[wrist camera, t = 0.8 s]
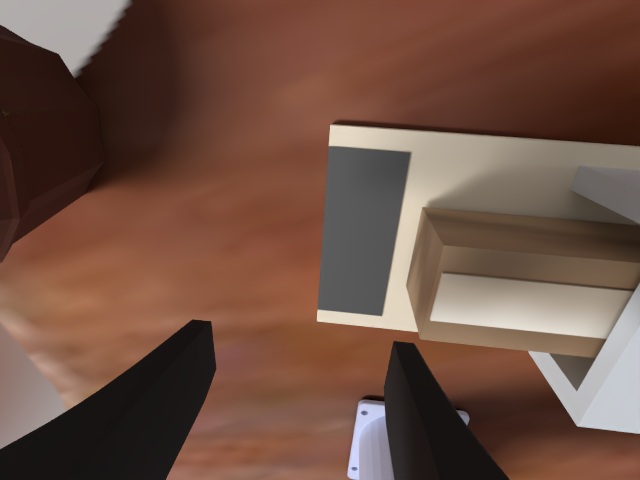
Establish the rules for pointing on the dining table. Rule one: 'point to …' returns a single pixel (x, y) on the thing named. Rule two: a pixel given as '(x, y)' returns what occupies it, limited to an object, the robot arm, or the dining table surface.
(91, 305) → the dining table surface
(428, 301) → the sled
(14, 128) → the muffin
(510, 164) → the tunnel
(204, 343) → the robot arm
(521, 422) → the dining table surface
